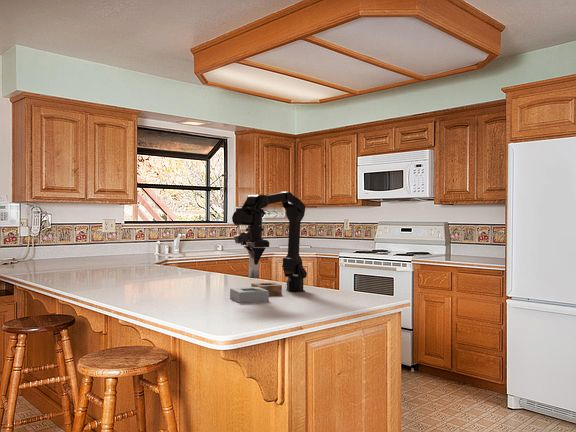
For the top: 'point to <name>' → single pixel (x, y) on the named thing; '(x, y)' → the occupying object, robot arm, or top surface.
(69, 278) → the top surface
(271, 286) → the pin mount
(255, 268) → the lock pin
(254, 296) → the socket block
